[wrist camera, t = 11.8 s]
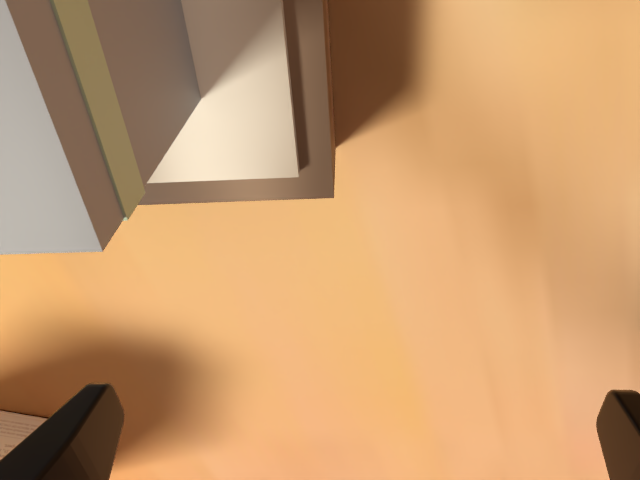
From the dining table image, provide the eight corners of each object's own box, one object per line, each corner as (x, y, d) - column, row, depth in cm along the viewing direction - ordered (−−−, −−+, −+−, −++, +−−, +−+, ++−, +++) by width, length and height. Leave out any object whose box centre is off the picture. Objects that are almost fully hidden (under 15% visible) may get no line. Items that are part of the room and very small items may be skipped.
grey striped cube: (157, -127, 11) (-42, -131, 5) (203, 101, 14) (106, 254, 8) (-64, -109, 11) (-471, -96, 6) (26, 109, 14) (-183, 261, 9)
